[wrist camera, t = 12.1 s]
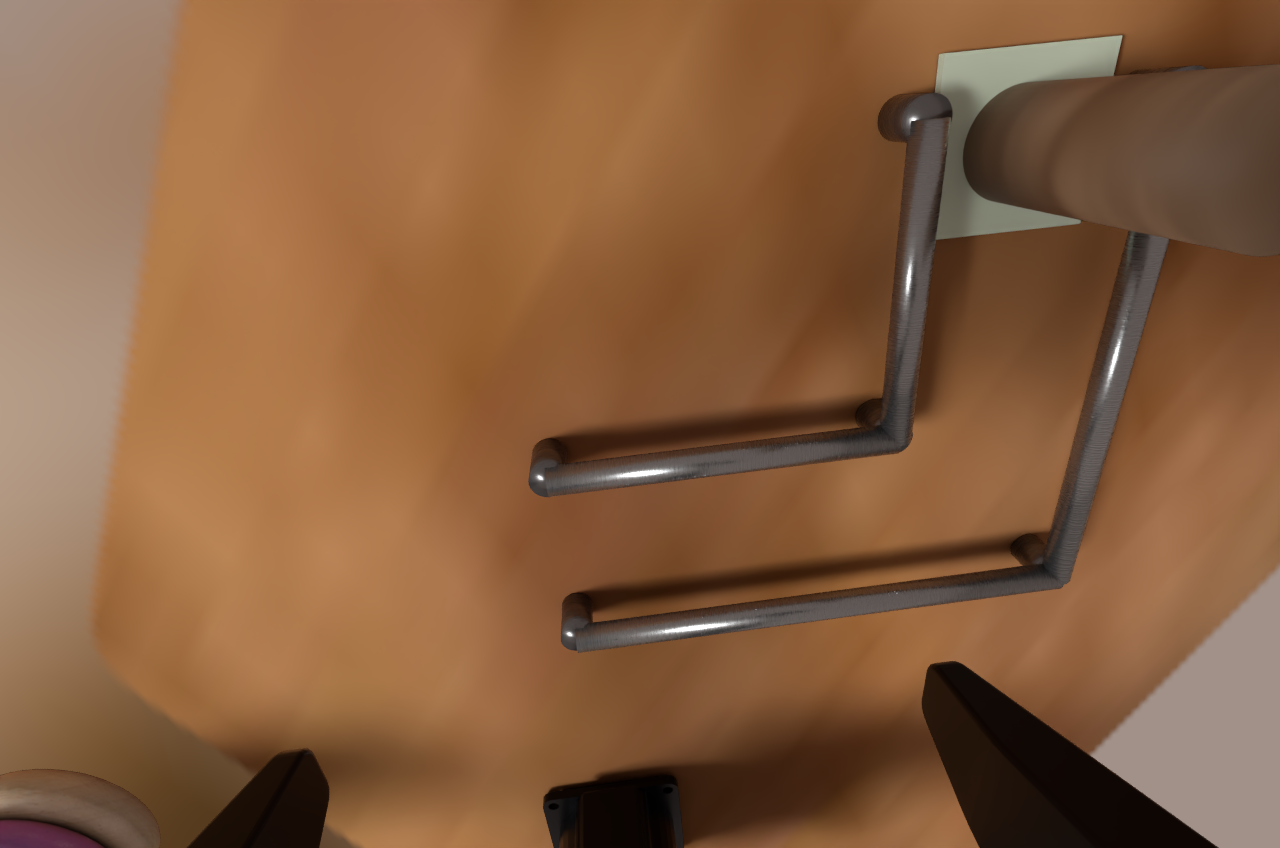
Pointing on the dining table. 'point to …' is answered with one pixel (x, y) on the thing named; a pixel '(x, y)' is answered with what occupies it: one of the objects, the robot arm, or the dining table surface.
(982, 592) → the rail leg
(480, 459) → the dining table surface
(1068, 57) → the sage coaster
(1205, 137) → the walnut peg
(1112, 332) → the rails leg
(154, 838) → the stacking toy
